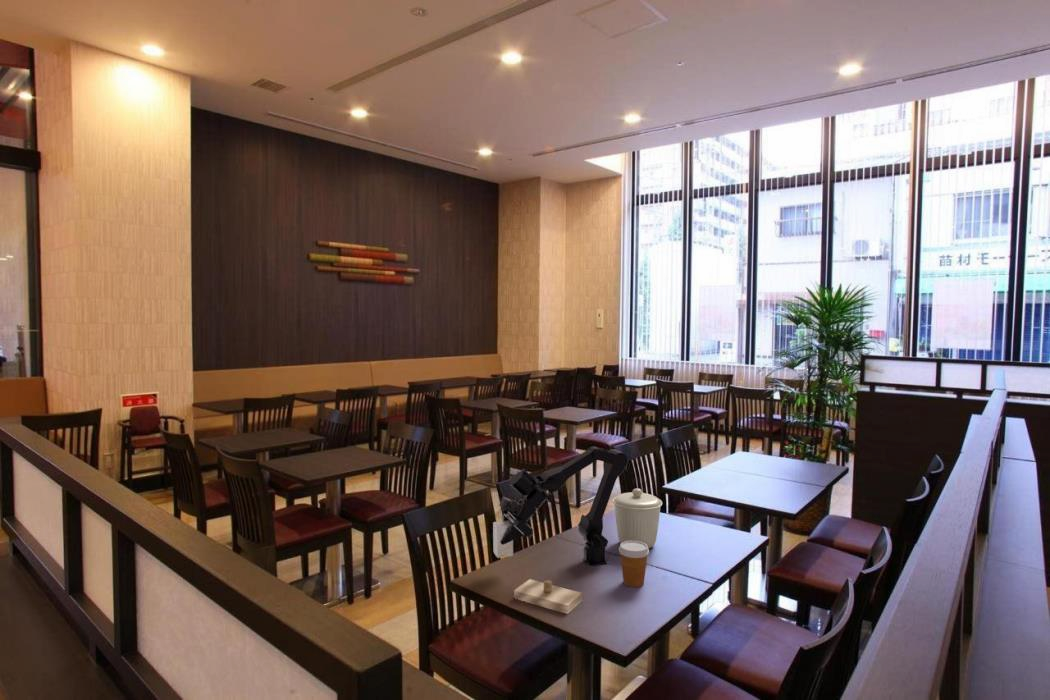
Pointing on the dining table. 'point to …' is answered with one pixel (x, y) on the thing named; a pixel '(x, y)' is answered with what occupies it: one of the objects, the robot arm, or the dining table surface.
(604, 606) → the dining table surface
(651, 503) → the canister
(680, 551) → the dining table surface
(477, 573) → the dining table surface
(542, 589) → the birch block
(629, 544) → the disposable coffee cup
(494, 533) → the white rectangular block
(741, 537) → the dining table surface
